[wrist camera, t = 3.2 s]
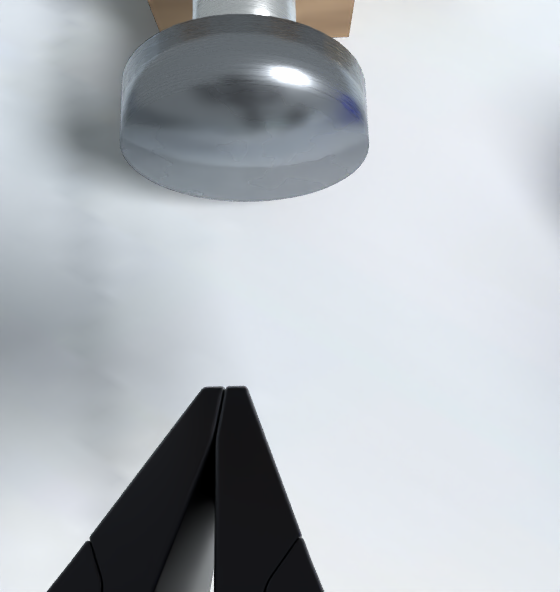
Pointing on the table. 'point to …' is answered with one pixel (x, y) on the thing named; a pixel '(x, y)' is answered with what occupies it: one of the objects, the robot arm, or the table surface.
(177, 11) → the bearing block
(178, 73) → the shaft
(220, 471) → the robot arm
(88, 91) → the table surface
